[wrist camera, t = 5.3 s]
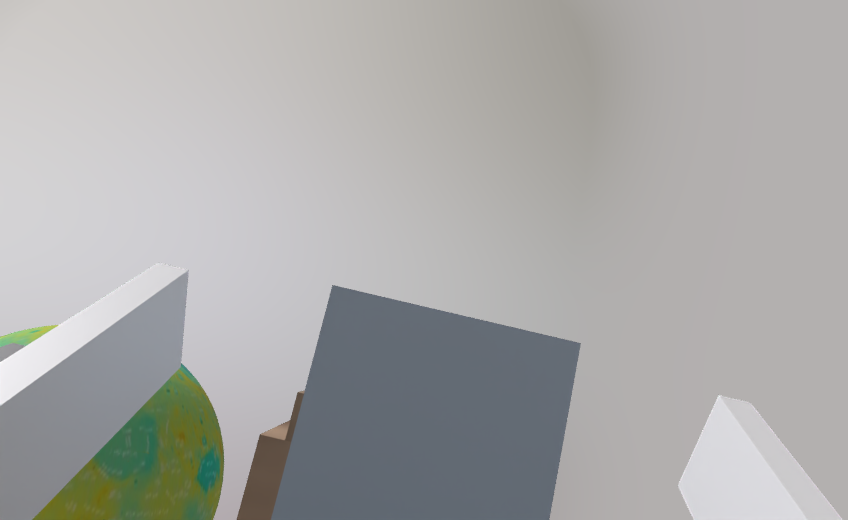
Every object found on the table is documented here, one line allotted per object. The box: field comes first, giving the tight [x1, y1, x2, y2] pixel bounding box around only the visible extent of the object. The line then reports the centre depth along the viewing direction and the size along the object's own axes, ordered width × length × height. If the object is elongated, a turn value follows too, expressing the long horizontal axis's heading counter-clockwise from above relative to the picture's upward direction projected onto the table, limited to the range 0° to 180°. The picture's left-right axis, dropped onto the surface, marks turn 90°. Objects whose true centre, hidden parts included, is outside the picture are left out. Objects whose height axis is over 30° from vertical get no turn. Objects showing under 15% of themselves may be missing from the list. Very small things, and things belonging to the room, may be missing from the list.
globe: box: [0, 325, 224, 520], centre depth 57 cm, size 30×30×30 cm
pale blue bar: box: [271, 285, 580, 520], centre depth 23 cm, size 28×4×4 cm, turn 2°
